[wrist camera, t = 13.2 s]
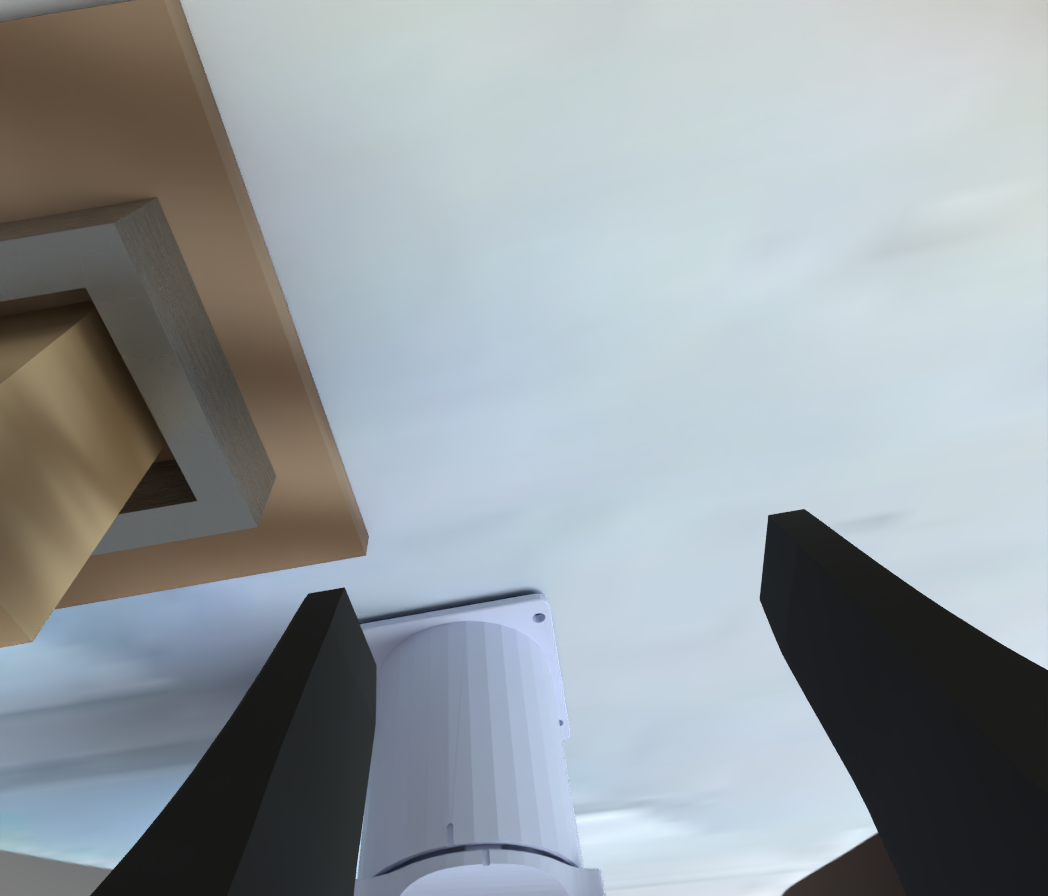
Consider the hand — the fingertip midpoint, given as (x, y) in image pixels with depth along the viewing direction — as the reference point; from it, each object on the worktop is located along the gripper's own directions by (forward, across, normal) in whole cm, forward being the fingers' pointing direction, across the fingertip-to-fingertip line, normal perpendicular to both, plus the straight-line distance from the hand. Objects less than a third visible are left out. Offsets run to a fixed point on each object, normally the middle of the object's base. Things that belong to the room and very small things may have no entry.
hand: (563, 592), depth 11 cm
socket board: (+10, +12, -2) cm, 16 cm away
